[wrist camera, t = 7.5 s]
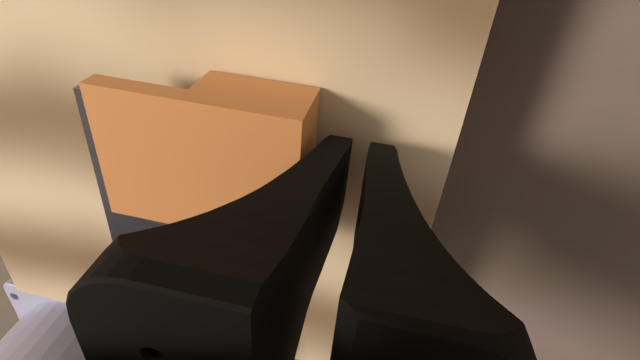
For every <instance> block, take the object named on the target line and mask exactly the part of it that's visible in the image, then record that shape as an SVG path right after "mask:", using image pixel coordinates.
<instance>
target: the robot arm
mask: <svg viewBox="0 0 640 360" xmlns="http://www.w3.org/2000/svg"><path fill="white" fill-rule="evenodd" d="M352 141H353V138H347V137H341V136H336V135H329V136H328V137H326V138H325V139H324V140H323V141H322V142H321V143H319V144H318V145H317V146H316V147H315V148H314V149H313V150H311V151H310V152H309V153H308V154H307V155H306V156H304V157H303V158H302V159H301V160H299V161H298V162H297V163H295V164H294V165H293V166H292V167H290V168H289V169H288V170H286V171H285V172H283V173H282V174H280V175H279V176H277V177H276V178H274V179H273V180H272V181H270V182H269V183H267V184H265V185H264V186H262V187H260V188H259V189H257V190H255V191H253V192H251V193H249V194H247V195H245V196H243V197H241V198H239V199H237V200H235V201H232V202H230V203H227V204H225V205H223V206H220V207H218V208H216V209H213V210H211V211H208V212H205V213H202V214H199V215H197V216H194V217H191V218H187V219H184V220H181V221H177V222H174V223H170V224H167V225H163V226H159V227H154V228H150V229H145V230H141V231H136V232H132V233H127V234H122V235H119V236H118V237H117V238H116V239H115V240H114V241H113V242H112V243H111V244H110V245H109V246H108V247H107V248H106V249H105V250H104V251H103V252H102V253H101V254H100V255H99V257H98V258H97V259H96V260H95V261H94V263H93V264H92V265H91V266H90V267H89V268H88V270H87V271H86V272H85V273H84V274H83V275H82V277H81V278H80V279H79V280H78V281H77V282H76V283H75V285H74V286H73V287H72V288H71V289H70V290H69V292H68V294H67V299H66V302H62V301H58V300H53V299H49V298H45V297H41V296H37V295H33V294H29V293H25V292H21V291H17V289H16V286H15V284H14V282H13V280H12V279H10V280H8V281H7V282H6V283H5V284H4V289H5V291H6V293H7V295H8V297H9V299H10V301H11V303H12V305H13V307H14V309H15V311H16V313H17V315H18V317H19V319H20V320H19V321H18V322H17V323H16V324H15V325H14V326H13V327H12V328H11V329H10V331H9V332H8V333H7V334H6V335H5V336H4V337H3V338H2V339H1V340H0V360H294V359H295V356H296V352H297V348H298V344H299V340H300V336H301V333H302V329H303V325H304V321H305V318H306V314H307V310H308V307H309V304H310V301H311V298H312V295H313V292H314V289H315V287H316V284H317V282H318V279H319V276H320V274H321V271H322V269H323V266H324V263H325V261H326V258H327V256H328V253H329V250H330V248H331V245H332V242H333V240H334V237H335V234H336V232H337V229H338V225H339V221H340V217H341V213H342V209H343V204H344V200H345V193H346V186H347V178H348V171H349V164H350V156H351V149H352ZM330 360H537V358H536V356H535V353H534V350H533V347H532V344H531V341H530V338H529V336H528V333H527V330H526V328H525V325H524V323H523V322H522V321H521V320H519V319H518V318H517V317H516V316H515V315H513V314H512V313H511V312H510V311H508V310H507V309H506V308H505V307H504V306H502V305H501V304H500V303H499V302H498V301H496V300H495V299H494V298H493V297H491V296H490V295H489V294H488V293H487V292H486V291H485V290H484V289H483V288H481V287H480V286H479V285H478V284H477V283H476V282H475V281H474V280H473V279H472V278H471V277H470V276H469V275H468V274H467V273H466V272H465V271H464V270H463V269H462V268H461V267H460V265H459V264H458V263H457V262H456V261H455V260H454V259H453V257H452V256H451V255H450V254H449V253H448V252H447V250H446V249H445V248H444V247H443V245H442V244H441V243H440V241H439V240H438V239H437V237H436V236H435V234H434V233H433V231H432V230H431V228H430V227H429V225H428V224H427V222H426V220H425V219H424V217H423V215H422V213H421V212H420V210H419V208H418V206H417V204H416V202H415V200H414V198H413V196H412V194H411V192H410V189H409V187H408V185H407V182H406V180H405V177H404V174H403V172H402V168H401V165H400V162H399V158H398V150H397V149H396V148H395V146H393V145H388V144H382V143H376V142H371V143H370V146H369V149H368V152H367V158H366V165H365V171H364V177H363V183H362V190H361V196H360V202H359V208H358V215H357V221H356V227H355V233H354V243H353V251H352V254H351V258H350V262H349V266H348V269H347V273H346V276H345V280H344V283H343V287H342V290H341V293H340V297H339V303H338V310H337V316H336V323H335V330H334V336H333V343H332V350H331V356H330Z"/></svg>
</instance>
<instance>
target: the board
mask: <svg viewBox="0 0 640 360" xmlns="http://www.w3.org/2000/svg"><path fill="white" fill-rule="evenodd" d="M498 3H499V0H0V255H1V257H2V260H3V262H4V264H5V266H6V268H7V270H8V272H9V274H10V276H11V278H12V280H13V282H14V284H15V286H16V289H17V291H21V292H25V293H29V294H33V295H37V296H41V297H45V298H49V299H53V300H58V301H62V302H66V299H67V294H68V292H69V290H70V289H71V288H72V287H73V286H74V285H75V283H76V282H77V281H78V280H79V279H80V278H81V277H82V275H83V274H84V273H85V272H86V271H87V270H88V268H89V267H90V266H91V265H92V264H93V263H94V261H95V260H96V259H97V258H98V257H99V255H100V254H101V253H102V252H103V251H104V250H105V249H106V248H107V247H108V246H109V245H110V244H111V243H112V238H111V234H110V230H109V226H108V222H107V219H106V215H105V211H104V207H103V203H102V199H101V195H100V191H99V187H98V184H97V180H96V176H95V172H94V168H93V164H92V160H91V156H90V152H89V149H88V145H87V141H86V137H85V133H84V129H83V125H82V121H81V118H80V114H79V110H78V106H77V102H76V98H75V94H74V90H73V88H74V87H76V86H77V85H79V82H81V81H83V80H84V79H86V78H88V77H89V76H91V75H93V74H99V75H105V76H111V77H117V78H123V79H129V80H135V81H141V82H147V83H153V84H159V85H165V86H171V87H177V88H183V89H189V88H190V87H191V86H193V85H194V84H195V83H196V82H197V81H198V80H200V79H201V78H202V77H203V76H204V75H205V74H206V73H208V72H209V71H210V70H212V71H218V72H225V73H231V74H237V75H243V76H249V77H256V78H262V79H268V80H274V81H281V82H287V83H293V84H299V85H305V86H312V87H318V88H320V99H319V112H318V124H317V136H316V146H317V145H318V144H319V143H321V142H322V141H323V140H324V139H325V138H326V137H328V136H329V135H336V136H341V137H347V138H353V141H352V149H351V156H350V164H349V171H348V178H347V186H346V193H345V200H344V204H343V209H342V213H341V217H340V221H339V225H338V229H337V232H336V234H335V237H334V240H333V242H332V245H331V248H330V250H329V253H328V256H327V258H326V261H325V263H324V266H323V269H322V271H321V274H320V276H319V279H318V282H317V284H316V287H315V289H314V292H313V295H312V298H311V301H310V304H309V307H308V310H307V314H306V318H305V321H304V325H303V329H302V333H301V336H300V340H299V344H298V348H297V352H296V356H295V359H299V360H330V356H331V350H332V343H333V336H334V330H335V323H336V316H337V310H338V303H339V297H340V293H341V290H342V287H343V283H344V280H345V276H346V273H347V269H348V266H349V262H350V258H351V254H352V251H353V243H354V233H355V227H356V221H357V215H358V208H359V202H360V196H361V190H362V183H363V177H364V171H365V165H366V158H367V152H368V149H369V146H370V143H371V142H376V143H382V144H388V145H393V146H395V148H396V149H397V150H398V158H399V162H400V165H401V168H402V172H403V174H404V177H405V180H406V182H407V185H408V187H409V189H410V192H411V194H412V196H413V198H414V200H415V202H416V204H417V206H418V208H419V210H420V212H421V213H422V215H423V217H424V219H425V220H426V222H427V224H428V225H429V227H430V228H431V229H432V226H433V222H434V219H435V216H436V212H437V209H438V206H439V202H440V199H441V195H442V192H443V189H444V185H445V182H446V179H447V175H448V172H449V168H450V165H451V162H452V158H453V155H454V152H455V148H456V145H457V141H458V138H459V135H460V131H461V128H462V125H463V121H464V118H465V114H466V111H467V108H468V104H469V101H470V98H471V94H472V91H473V87H474V84H475V81H476V77H477V74H478V71H479V67H480V64H481V60H482V57H483V54H484V50H485V47H486V44H487V40H488V37H489V33H490V30H491V27H492V23H493V20H494V17H495V13H496V10H497V6H498Z"/></svg>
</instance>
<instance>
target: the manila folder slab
mask: <svg viewBox="0 0 640 360" xmlns="http://www.w3.org/2000/svg"><path fill="white" fill-rule="evenodd" d="M79 86H80V90H81V94H82V98H83V102H84V106H85V110H86V114H87V118H88V121H89V125H90V129H91V133H92V137H93V141H94V145H95V149H96V153H97V156H98V160H99V164H100V168H101V172H102V176H103V180H104V184H105V187H106V191H107V195H108V199H109V203H110V207H111V211H112V212H115V213H119V214H124V215H129V216H134V217H138V218H143V219H148V220H152V221H157V222H162V223H167V224H170V223H174V222H177V221H181V220H184V219H187V218H191V217H194V216H197V215H199V214H202V213H205V212H208V211H211V210H213V209H216V208H218V207H220V206H223V205H225V204H227V203H230V202H232V201H235V200H237V199H239V198H241V197H243V196H245V195H247V194H249V193H251V192H253V191H255V190H257V189H259V188H260V187H262V186H264V185H265V184H267V183H269V182H270V181H272V180H273V179H274V178H276V177H277V176H279V175H280V174H282V173H283V172H285V171H286V170H288V169H289V168H290V167H292V166H293V165H294V164H295V163H297V162H298V161H299V160H301V159H302V158H303V157H304V156H306V155H307V154H308V153H309V152H310V151H311V150H313V149H314V148H315V147H316V136H317V124H318V112H319V99H320V88H318V87H312V86H305V85H299V84H293V83H287V82H281V81H274V80H268V79H262V78H256V77H249V76H243V75H237V74H231V73H225V72H218V71H212V70H210V71H209V72H208V73H206V74H205V75H204V76H203V77H202V78H201V79H200V80H198V81H197V82H196V83H195V84H194V85H193V86H191V87H190V88H189V89H183V88H177V87H171V86H165V85H159V84H153V83H147V82H141V81H135V80H129V79H123V78H117V77H111V76H105V75H99V74H93V75H91V76H89V77H88V78H86V79H84V80H83V81H81V82H79Z"/></svg>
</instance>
